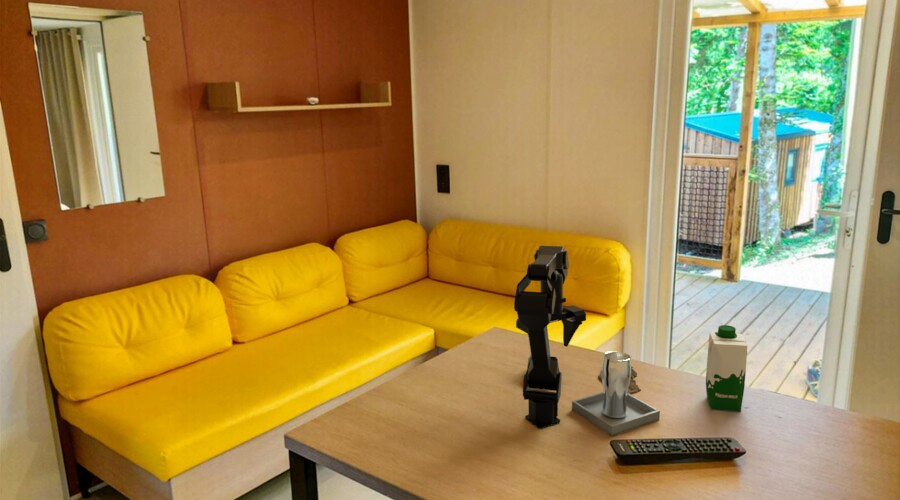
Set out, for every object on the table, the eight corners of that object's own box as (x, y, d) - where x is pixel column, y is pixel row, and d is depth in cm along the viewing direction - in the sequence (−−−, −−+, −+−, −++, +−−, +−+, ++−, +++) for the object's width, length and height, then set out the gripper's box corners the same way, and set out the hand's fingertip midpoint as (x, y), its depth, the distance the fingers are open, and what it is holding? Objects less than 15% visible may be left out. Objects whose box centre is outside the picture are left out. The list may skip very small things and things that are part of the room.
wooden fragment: (642, 398, 167) (642, 394, 166) (599, 396, 169) (599, 392, 168) (633, 359, 191) (633, 356, 191) (596, 358, 193) (596, 354, 193)
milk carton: (738, 397, 164) (744, 325, 160) (745, 414, 156) (751, 338, 151) (702, 395, 167) (707, 323, 162) (707, 411, 158) (712, 336, 153)
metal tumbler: (601, 405, 162) (604, 349, 159) (629, 408, 160) (632, 352, 157) (598, 416, 156) (601, 359, 153) (627, 420, 153) (631, 362, 150)
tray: (612, 436, 148) (612, 426, 148) (571, 410, 161) (572, 401, 161) (659, 420, 155) (659, 410, 154) (617, 395, 168) (617, 387, 167)
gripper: (561, 280, 174) (561, 333, 178) (504, 291, 166) (505, 347, 169) (587, 290, 164) (587, 346, 168) (528, 302, 156) (528, 361, 160)
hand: (551, 349), depth 167 cm, fingers open, 9 cm apart
